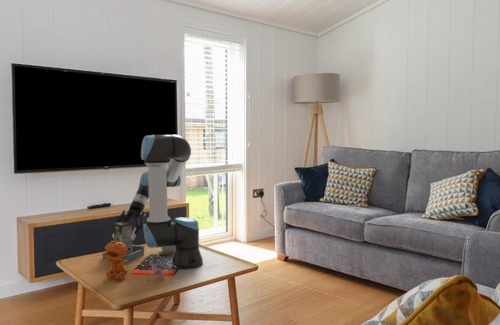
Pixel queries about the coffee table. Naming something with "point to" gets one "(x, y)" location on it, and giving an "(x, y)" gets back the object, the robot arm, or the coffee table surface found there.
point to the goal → (137, 253)
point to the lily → (156, 270)
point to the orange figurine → (116, 260)
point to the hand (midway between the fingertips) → (122, 238)
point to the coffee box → (123, 234)
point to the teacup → (169, 249)
